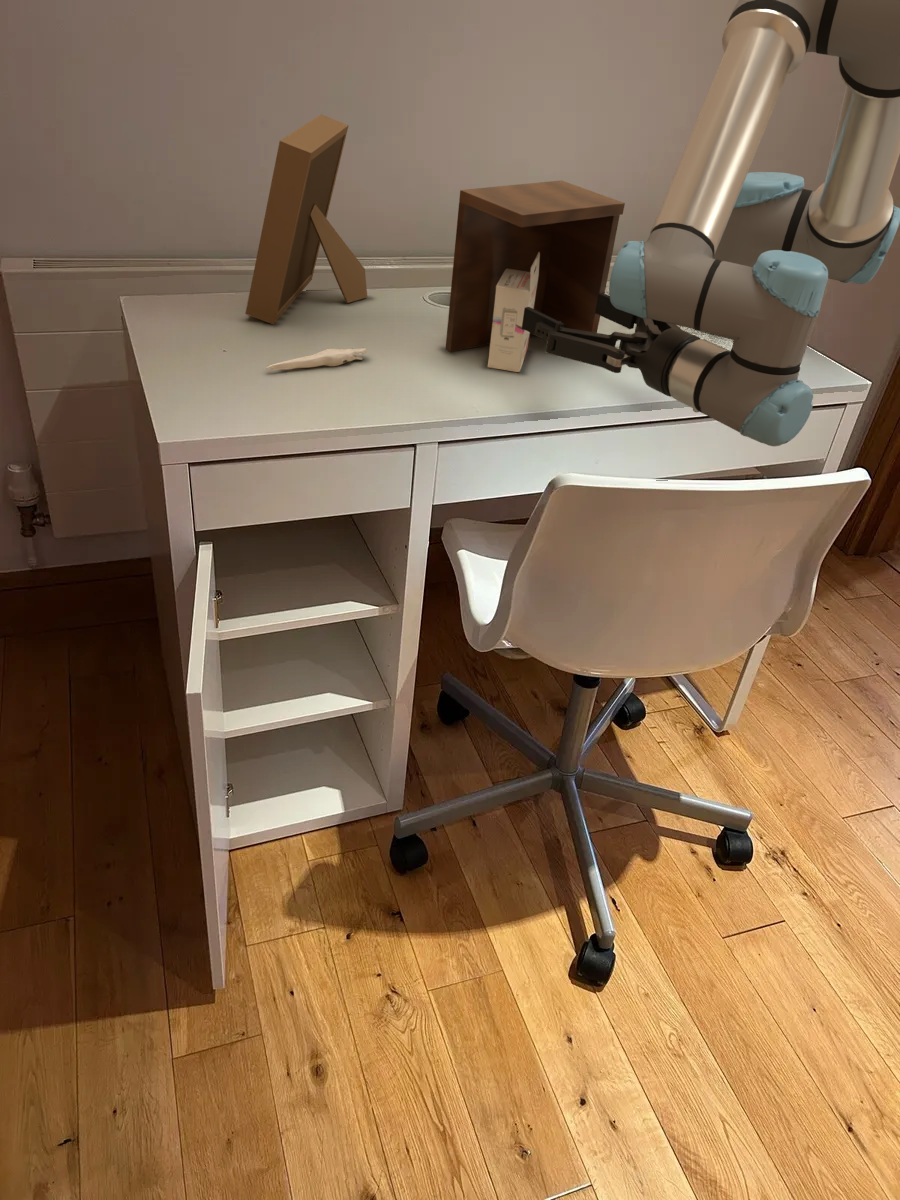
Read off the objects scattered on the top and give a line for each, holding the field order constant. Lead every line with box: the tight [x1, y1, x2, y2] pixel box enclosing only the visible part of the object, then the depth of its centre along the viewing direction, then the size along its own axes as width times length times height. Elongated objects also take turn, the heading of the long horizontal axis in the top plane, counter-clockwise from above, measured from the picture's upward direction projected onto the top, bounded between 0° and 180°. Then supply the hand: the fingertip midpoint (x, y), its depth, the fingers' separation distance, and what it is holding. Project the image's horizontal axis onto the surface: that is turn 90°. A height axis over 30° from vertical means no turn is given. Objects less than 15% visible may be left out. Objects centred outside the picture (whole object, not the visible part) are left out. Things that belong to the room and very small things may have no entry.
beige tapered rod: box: [265, 347, 367, 370], centre depth 125 cm, size 15×3×2 cm, turn 123°
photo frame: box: [245, 114, 368, 325], centre depth 137 cm, size 15×22×25 cm
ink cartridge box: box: [487, 252, 540, 373], centre depth 129 cm, size 9×5×15 cm, turn 168°
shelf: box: [445, 179, 626, 353], centre depth 130 cm, size 19×12×22 cm
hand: (562, 309), depth 122 cm, fingers open, 13 cm apart
